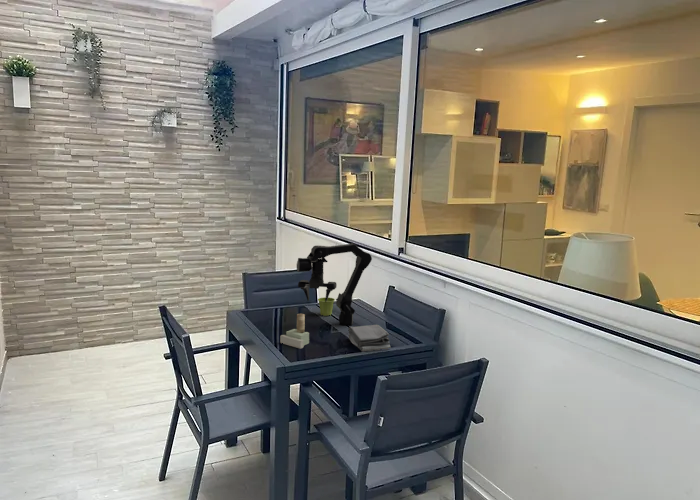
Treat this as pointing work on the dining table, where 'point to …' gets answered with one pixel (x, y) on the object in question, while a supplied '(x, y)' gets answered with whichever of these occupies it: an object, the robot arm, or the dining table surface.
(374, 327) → the towel
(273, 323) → the dining table surface
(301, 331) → the dowel
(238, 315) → the dining table surface
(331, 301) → the plant pot
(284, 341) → the kerb
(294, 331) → the block
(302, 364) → the dining table surface
